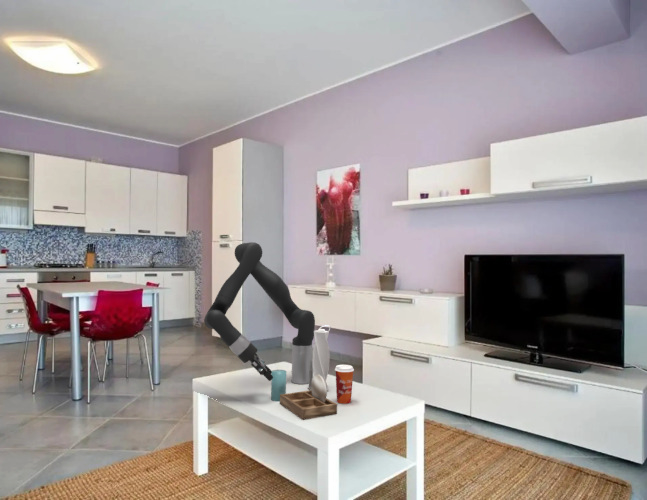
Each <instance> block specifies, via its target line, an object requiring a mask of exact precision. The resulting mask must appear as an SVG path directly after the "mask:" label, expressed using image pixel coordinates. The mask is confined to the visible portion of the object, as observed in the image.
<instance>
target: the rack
mask: <svg viewBox="0 0 647 500" xmlns="http://www.w3.org/2000/svg"><path fill="white" fill-rule="evenodd" d="M327 395H328V392H327V390H326V384H325V381H324V379H323V378H322V376H320V375H315V376H314V375H313V379H312V382H311V390H309V389H308V390H305V391H296V392H289V393H286V394H281V395H280V401H279V404H280V405H281V406H282V407H284V408H285V409H287V410H288V411H290V412H291V413H292V414H294V415H295V416H297V417H298V418H300V419H301V420H303V421H304V420H310V419H315V418H320V417H327V416H332V415H333V416H334V415H337V414H338V404H337V403H336V402H334V401H332V400H330V399H329V398H327V397H328V396H327Z"/></svg>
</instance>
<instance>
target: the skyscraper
mask: <svg viewBox="0 0 647 500" xmlns="http://www.w3.org/2000/svg"><path fill="white" fill-rule="evenodd" d="M323 327H328V328H329V329H328V330H326V329H324V328H323ZM331 327H332V326H331V325H328V324H327V325H321V326H320V327H319V328H318V330H315V329H314V343H313V347H312V361H313V377H314V376H315V375H320V376H322V378H323V379H324V381H325V384H326V390H327V393H328V392H329V391H330V390H329V388H328V384H327V380H328V379H327V378H328V375H329V368H330V359H331V358H330V348H329V342H328V340H329V333H330V330H331ZM311 382H312V364H311V362H310V370H309V383H308V387H307V390H308V391H309V390H311Z"/></svg>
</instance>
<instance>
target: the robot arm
mask: <svg viewBox="0 0 647 500" xmlns="http://www.w3.org/2000/svg"><path fill="white" fill-rule="evenodd" d="M262 256H263V249H262V246H261V245H260V244H259V243H257V242H253V241H251V242H243V243H239V244H238V245H237V246H236V247H235V249H234V258H235V259H236V261H237V262H238V265H237V267H236V269H235V270H234V272H232V273H231V275H230V276H229V277H227V279H226V280H225V281H224V283H223V284H222V285H221V288H220V289H219V291H218V292H217V295H216V297H215V300H214V301H213V303H212V304H211V305H210V308H209V309H208V311H207V313H206V314H205V316H204V319H203V322H204V325H205V326H206V327H207V328H208V329H210V330H214V331H215V333H216V334H218V335H219V337H220V339H221V340H222V342H223V343H224V344H225V345H226V346H227V347H228V348H229V349H230V350H231V352H232V353H233V354H234V355H235V356H236V357H237V358H239V360H240V361H241V362H242V363H243V364H247V363H248V362H250V365H251V366H252V367H253V368H254V370H256V371H257V373H259V375H261V376H263V377H264V378H266V379H267V380H268V382H271V380H272V379H273V376H272V375H271V374H272V371H273V370H272V369H270V368H269V367H268V365H267V364H266V362H265V361H264V360H263V359H262V358H261V357H260V356H259V355H258V354H257V353H258V348H257V347H256V346H255V345H254V344H253V343H252V342H251V341H250V340H249V338H247V337H246V336H245V335H243V334H242V333H241V332H240V331H239V330H238V329H237V328H236V327H235V326H234V325H233V323H232V322H231V321H230V320H229V318H228V317H227V316H226V314H227V313H228V311H229V309H230V308H231V306H232V305H233V303H234V301H235V299H236V297H237V295H238V294H239V291H240V290H241V288H242V286H243V285H244V283H245V282H246V280H247V278H248V277H249V276H250V275H251V276H252V277H253V279H254V280H255V282H257V283H258V285H259V286H260V287H261V288H262V290H263V291H264V292H265V294H267V296H268V297H269V298H270V299H271V301H272V302H273V303H274V304H275V305H276V306H277V308H278V309H279V310H280V311H281V312H282V313H283V315H284V317H285V318H286V319H287V322H288V323H289V324H290V325H291V326H292V327H293V328H294V329H297V334H296V336H294V337H293V338H292V343H291V344H292V345H291V346H292V347H291V349H292V350H291V352H292V353H291V383H293V384H298V385H305V384H306V385H308V384H309V370H310V362H311V364H312V379H313V377H314V373H313V341H314V339H315V337H314V331H315V328H316V327H315V326H316V318H315V314H314V313H313V312H312V311H311V310H307V309H302V308H300V307H299V306H298V305H297V304H296V303H295V302H294V301H293V299H292V297H291V292H290V289H289V287H288V285H287V284H286V283H285V282H284V280H283V279H282V278H281V277H280V276H279V275H278V274H277V273H276V272H274V271H273V270H271V269H270V268H269V267H267V266H266V265H264V264H263V263H262V262H261V259H262Z"/></svg>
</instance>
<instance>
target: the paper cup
mask: <svg viewBox="0 0 647 500" xmlns="http://www.w3.org/2000/svg"><path fill="white" fill-rule="evenodd" d="M334 371H335V383H336V384H335V385H336V386H335V387H336V388H335V389H336V402H337V403H338V404H343V405H347V404H350V403H351V402H352V395H353V381H354V380H353V378H354V377H353V376H354V371H355V369H354V367H353V366H352V365H350V364H337V365H336V366H335V368H334Z"/></svg>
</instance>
